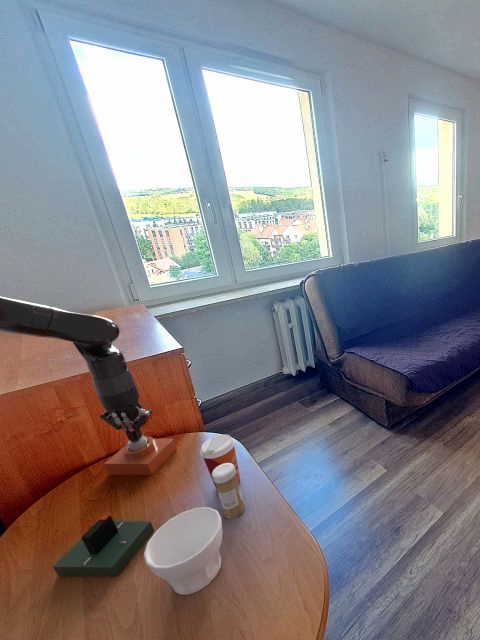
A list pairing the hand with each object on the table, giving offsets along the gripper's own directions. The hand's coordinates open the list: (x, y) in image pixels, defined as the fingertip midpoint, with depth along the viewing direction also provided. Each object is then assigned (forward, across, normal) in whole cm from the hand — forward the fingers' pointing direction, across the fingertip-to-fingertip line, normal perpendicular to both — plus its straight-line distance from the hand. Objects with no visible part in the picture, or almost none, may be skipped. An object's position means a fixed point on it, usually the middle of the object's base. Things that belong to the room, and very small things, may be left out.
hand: (136, 439), depth 94 cm
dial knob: (+5, +13, -26) cm, 29 cm away
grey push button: (+2, 0, 0) cm, 2 cm away
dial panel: (+8, +13, -26) cm, 30 cm away
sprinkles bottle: (+8, +35, -16) cm, 39 cm away
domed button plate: (+8, 0, 0) cm, 8 cm away
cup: (+8, +35, -30) cm, 47 cm away
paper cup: (+8, +29, -8) cm, 31 cm away
